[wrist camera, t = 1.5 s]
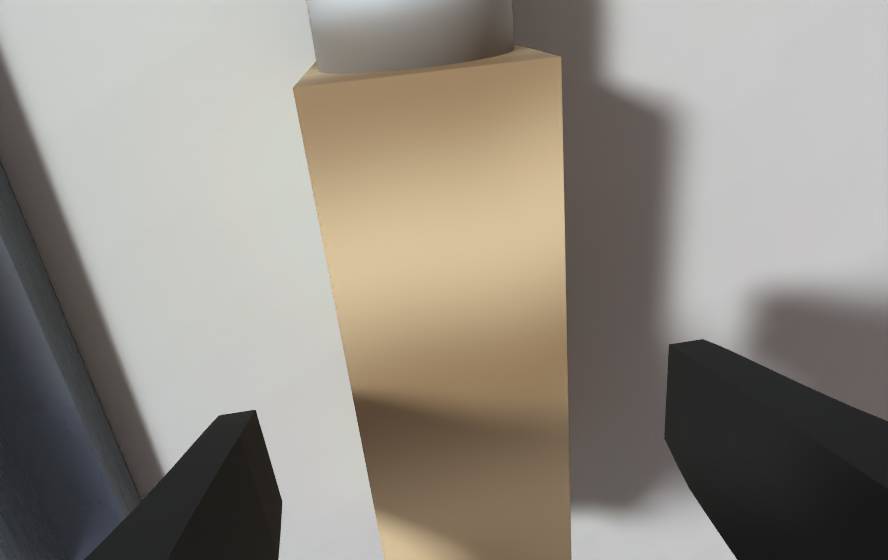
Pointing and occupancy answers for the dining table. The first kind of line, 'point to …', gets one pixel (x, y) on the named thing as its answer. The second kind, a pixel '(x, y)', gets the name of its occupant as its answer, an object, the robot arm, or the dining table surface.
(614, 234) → the dining table surface
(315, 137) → the block
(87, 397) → the cradle
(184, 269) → the dining table surface
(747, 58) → the dining table surface
